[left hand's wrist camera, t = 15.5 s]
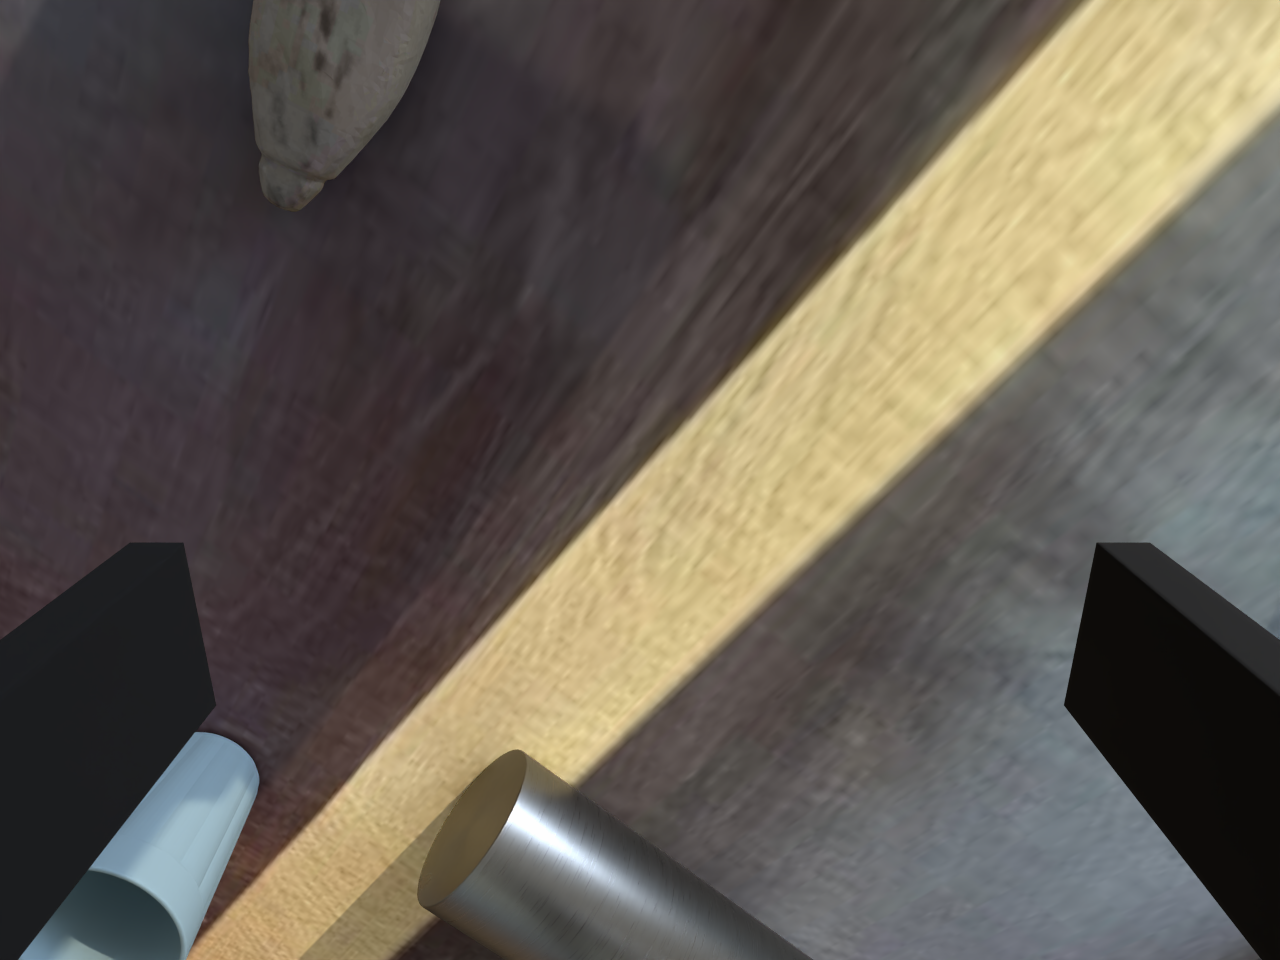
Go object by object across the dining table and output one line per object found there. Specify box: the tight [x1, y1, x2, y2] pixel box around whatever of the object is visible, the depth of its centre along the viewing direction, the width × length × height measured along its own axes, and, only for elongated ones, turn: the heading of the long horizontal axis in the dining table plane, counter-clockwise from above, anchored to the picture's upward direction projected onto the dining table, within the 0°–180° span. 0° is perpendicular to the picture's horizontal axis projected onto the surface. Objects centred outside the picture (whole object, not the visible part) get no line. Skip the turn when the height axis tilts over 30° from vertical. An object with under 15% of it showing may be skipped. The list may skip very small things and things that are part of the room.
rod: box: [417, 750, 813, 960], centre depth 45 cm, size 22×8×8 cm, turn 48°
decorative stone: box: [248, 0, 440, 212], centre depth 32 cm, size 6×16×3 cm, turn 155°
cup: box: [18, 732, 259, 960], centre depth 41 cm, size 8×8×10 cm
